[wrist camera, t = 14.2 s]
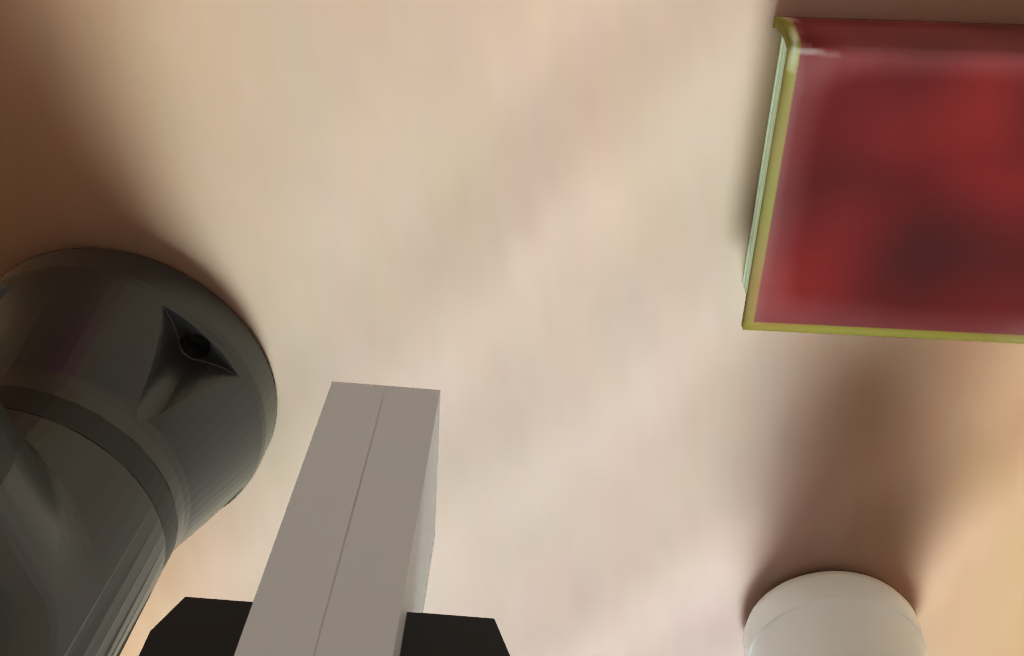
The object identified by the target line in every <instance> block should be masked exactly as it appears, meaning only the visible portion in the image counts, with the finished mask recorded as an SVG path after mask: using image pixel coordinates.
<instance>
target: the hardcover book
mask: <svg viewBox="0 0 1024 656" xmlns="http://www.w3.org/2000/svg"><path fill="white" fill-rule="evenodd" d="M773 27H774V28H777V29H778V30H779V31H780V33H781V35H782V37H781V44H780V50H779V56H778V62H777V69H776V75H775V81H774V87H773V94H772V100H771V106H770V112H769V119H768V125H767V131H766V137H765V144H764V150H763V156H762V162H761V168H760V175H759V181H758V187H757V193H756V200H755V206H754V212H753V218H752V225H751V231H750V237H749V243H748V250H747V256H746V262H745V268H744V275H743V281H742V282H743V285H744V289H745V293H746V300H745V306H744V312H743V319H742V328H743V329H744V330H764V331H783V332H803V333H823V334H843V335H863V336H883V337H903V338H922V339H942V340H962V341H982V342H1002V343H1022V344H1024V25H1021V24H990V23H959V22H928V21H897V20H866V19H835V18H804V17H774V22H773Z"/></svg>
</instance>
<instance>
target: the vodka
mask: <svg viewBox="0 0 1024 656" xmlns="http://www.w3.org/2000/svg"><path fill="white" fill-rule="evenodd" d="M743 646H744V651H745V656H926V646H925V641H924V637H923V633H922V630H921V627H920V625H919V622H918V619H917V617H916V614H915V612H914V610H913V608H912V607H911V605H910V604H909V603H908V602H907V600H906V599H904V598H903V597H902V596H901V595H900V594H899V593H898V592H897V591H896V590H894V589H893V588H892V587H890V586H889V585H887V584H886V583H884V582H882V581H880V580H878V579H875V578H873V577H870V576H867V575H863V574H859V573H854V572H847V571H825V572H816V573H811V574H806V575H803V576H799V577H796V578H793V579H790V580H788V581H786V582H784V583H782V584H780V585H778V586H776V587H775V588H773V589H772V590H770V591H769V592H768V593H766V594H765V595H764V596H763V597H762V598H761V599H760V600H759V601H758V602H757V604H756V605H755V606H754V608H753V609H752V611H751V613H750V615H749V617H748V620H747V623H746V625H745V628H744V633H743Z"/></svg>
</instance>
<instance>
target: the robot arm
mask: <svg viewBox="0 0 1024 656" xmlns="http://www.w3.org/2000/svg"><path fill="white" fill-rule="evenodd" d="M439 412H440V390H432V389H419V388H407V387H394V386H382V385H369V384H357V383H344V382H332V384H331V387H330V389H329V392H328V395H327V398H326V401H325V403H324V406H323V409H322V412H321V414H320V417H319V420H318V423H317V426H316V428H315V431H314V434H313V437H312V440H311V442H310V445H309V448H308V451H307V454H306V456H305V459H304V462H303V465H302V467H301V470H300V473H299V476H298V479H297V481H296V484H295V487H294V490H293V493H292V495H291V498H290V501H289V504H288V506H287V509H286V512H285V515H284V518H283V520H282V523H281V526H280V529H279V532H278V534H277V537H276V540H275V543H274V545H273V548H272V551H271V554H270V557H269V559H268V562H267V565H266V568H265V571H264V573H263V576H262V579H261V582H260V584H259V587H258V590H257V593H256V596H255V598H254V601H253V602H244V601H231V600H219V599H206V598H193V597H185V598H184V599H183V600H182V601H181V602H180V603H179V604H177V605H176V606H175V607H174V608H173V609H172V610H171V611H170V612H169V613H168V614H167V615H166V616H165V617H164V618H163V619H162V620H161V621H160V622H159V623H158V624H157V625H156V626H155V627H154V628H153V629H152V630H151V631H150V633H149V635H148V637H147V640H146V642H145V644H144V646H143V648H142V650H141V652H140V655H139V656H510V655H509V652H508V650H507V648H506V645H505V643H504V641H503V638H502V636H501V634H500V631H499V629H498V627H497V624H496V622H495V620H494V619H492V618H479V617H466V616H454V615H441V614H428V613H423V609H424V602H425V596H426V589H427V583H428V576H429V570H430V563H431V557H432V550H433V544H434V537H435V513H436V488H437V463H438V437H439ZM276 416H277V399H276V391H275V385H274V381H273V377H272V374H271V371H270V368H269V365H268V363H267V361H266V358H265V356H264V354H263V352H262V350H261V348H260V347H259V345H258V343H257V342H256V340H255V338H254V337H253V336H252V334H251V333H250V331H249V330H248V329H247V327H246V326H245V325H244V324H243V322H242V321H241V320H240V319H239V318H238V317H237V316H236V315H235V313H234V312H233V311H232V310H231V309H230V308H229V307H227V306H226V305H225V304H224V303H223V302H222V301H221V300H220V299H219V298H217V297H216V296H215V295H214V294H212V293H211V292H210V291H208V290H207V289H206V288H205V287H203V286H202V285H200V284H199V283H197V282H196V281H194V280H192V279H191V278H189V277H187V276H185V275H184V274H182V273H180V272H178V271H176V270H174V269H172V268H170V267H168V266H165V265H163V264H161V263H158V262H156V261H153V260H150V259H148V258H144V257H141V256H138V255H134V254H130V253H126V252H121V251H115V250H108V249H98V248H74V249H65V250H59V251H54V252H50V253H46V254H42V255H39V256H37V257H34V258H31V259H29V260H27V261H25V262H23V263H21V264H20V265H18V266H16V267H14V268H13V269H12V270H10V271H9V272H8V273H6V274H5V275H4V276H3V277H2V278H1V279H0V656H119V655H120V653H121V651H122V649H123V648H124V646H125V644H126V642H127V640H128V638H129V636H130V634H131V632H132V630H133V628H134V626H135V624H136V622H137V620H138V618H139V616H140V614H141V612H142V610H143V608H144V606H145V604H146V602H147V600H148V598H149V596H150V594H151V592H152V590H153V588H154V586H155V584H156V582H157V580H158V578H159V576H160V574H161V572H162V570H163V568H164V566H165V565H166V563H167V561H168V559H169V557H170V555H171V554H172V552H173V550H174V549H175V548H177V547H178V546H179V545H180V544H181V543H182V542H184V541H185V540H186V539H187V538H188V537H190V536H191V535H192V534H193V533H194V532H195V531H197V530H198V529H199V528H200V527H201V526H202V525H204V524H205V523H206V522H207V521H208V520H209V519H210V518H211V517H213V516H214V515H215V514H216V513H217V512H218V511H219V510H220V509H221V508H223V507H224V506H226V505H227V504H229V503H230V502H231V501H232V500H234V499H235V498H236V497H237V496H238V495H239V494H240V493H241V491H242V490H243V489H244V488H245V487H246V485H247V484H248V483H249V481H250V480H251V479H252V477H253V475H254V474H255V472H256V470H257V468H258V466H259V464H260V462H261V460H262V458H263V456H264V454H265V452H266V450H267V447H268V445H269V443H270V441H271V438H272V435H273V432H274V428H275V423H276Z"/></svg>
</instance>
